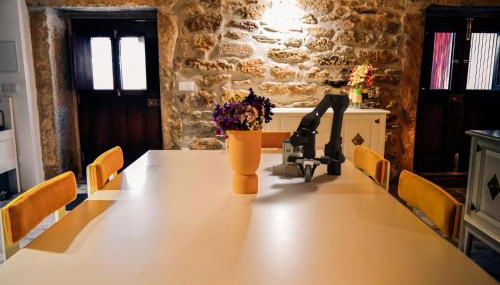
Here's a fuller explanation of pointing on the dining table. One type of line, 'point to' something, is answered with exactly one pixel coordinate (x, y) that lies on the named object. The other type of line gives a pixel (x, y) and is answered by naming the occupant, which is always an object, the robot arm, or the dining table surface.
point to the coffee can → (289, 151)
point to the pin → (308, 172)
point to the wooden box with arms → (288, 170)
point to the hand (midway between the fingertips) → (308, 177)
